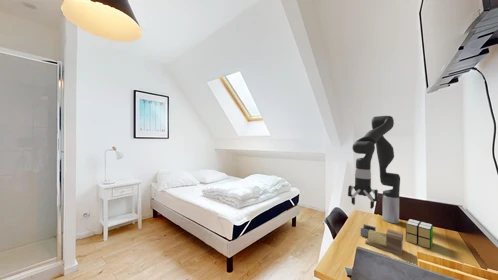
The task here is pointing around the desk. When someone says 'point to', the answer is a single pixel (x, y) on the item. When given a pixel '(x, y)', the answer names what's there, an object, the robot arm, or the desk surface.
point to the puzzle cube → (419, 233)
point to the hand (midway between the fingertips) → (362, 206)
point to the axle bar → (378, 238)
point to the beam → (391, 242)
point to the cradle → (366, 230)
